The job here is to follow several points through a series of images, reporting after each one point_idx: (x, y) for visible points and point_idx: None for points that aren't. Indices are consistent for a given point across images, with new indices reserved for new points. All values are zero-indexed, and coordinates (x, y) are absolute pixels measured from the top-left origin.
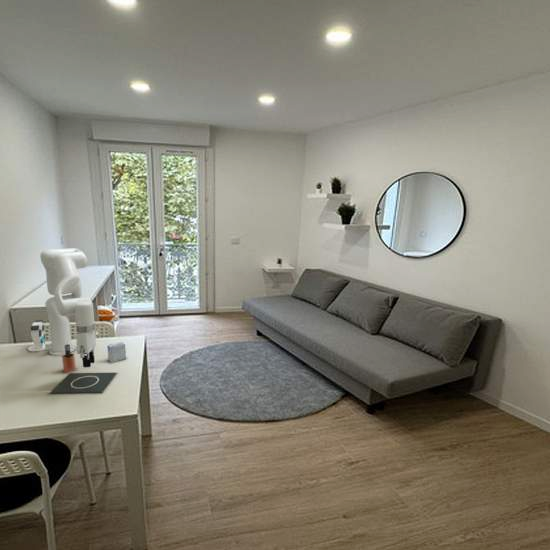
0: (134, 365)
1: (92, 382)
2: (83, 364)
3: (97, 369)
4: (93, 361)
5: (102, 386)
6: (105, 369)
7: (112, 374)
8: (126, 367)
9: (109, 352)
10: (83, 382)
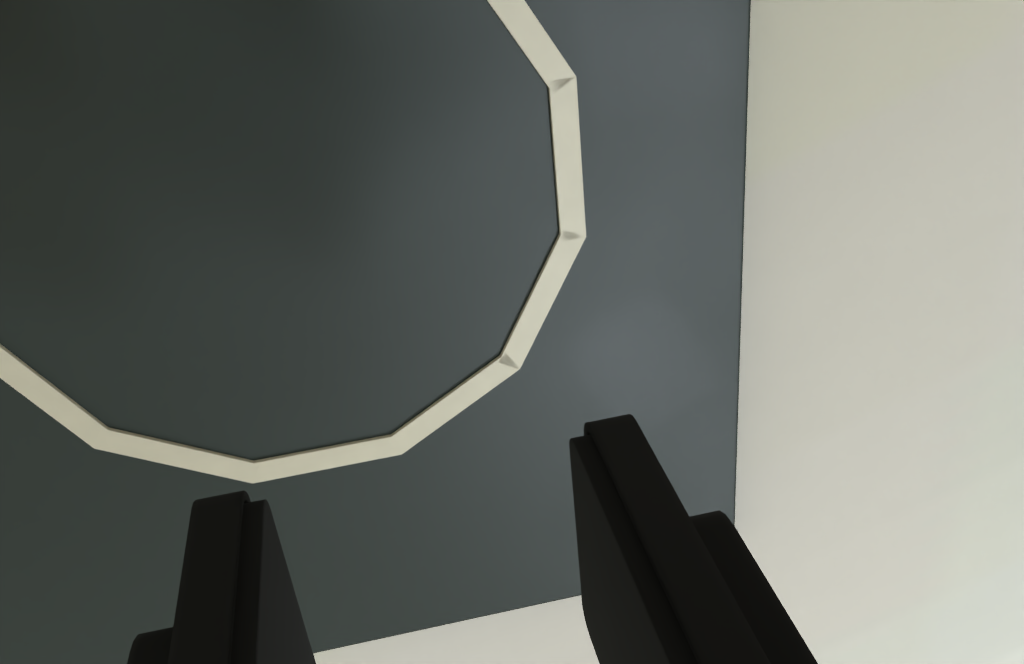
0: (1005, 638)
1: (278, 382)
2: (184, 596)
3: (965, 89)
4: (601, 662)
5: None
6: (934, 266)
7: None
8: (953, 570)
9: None
10: (235, 182)
